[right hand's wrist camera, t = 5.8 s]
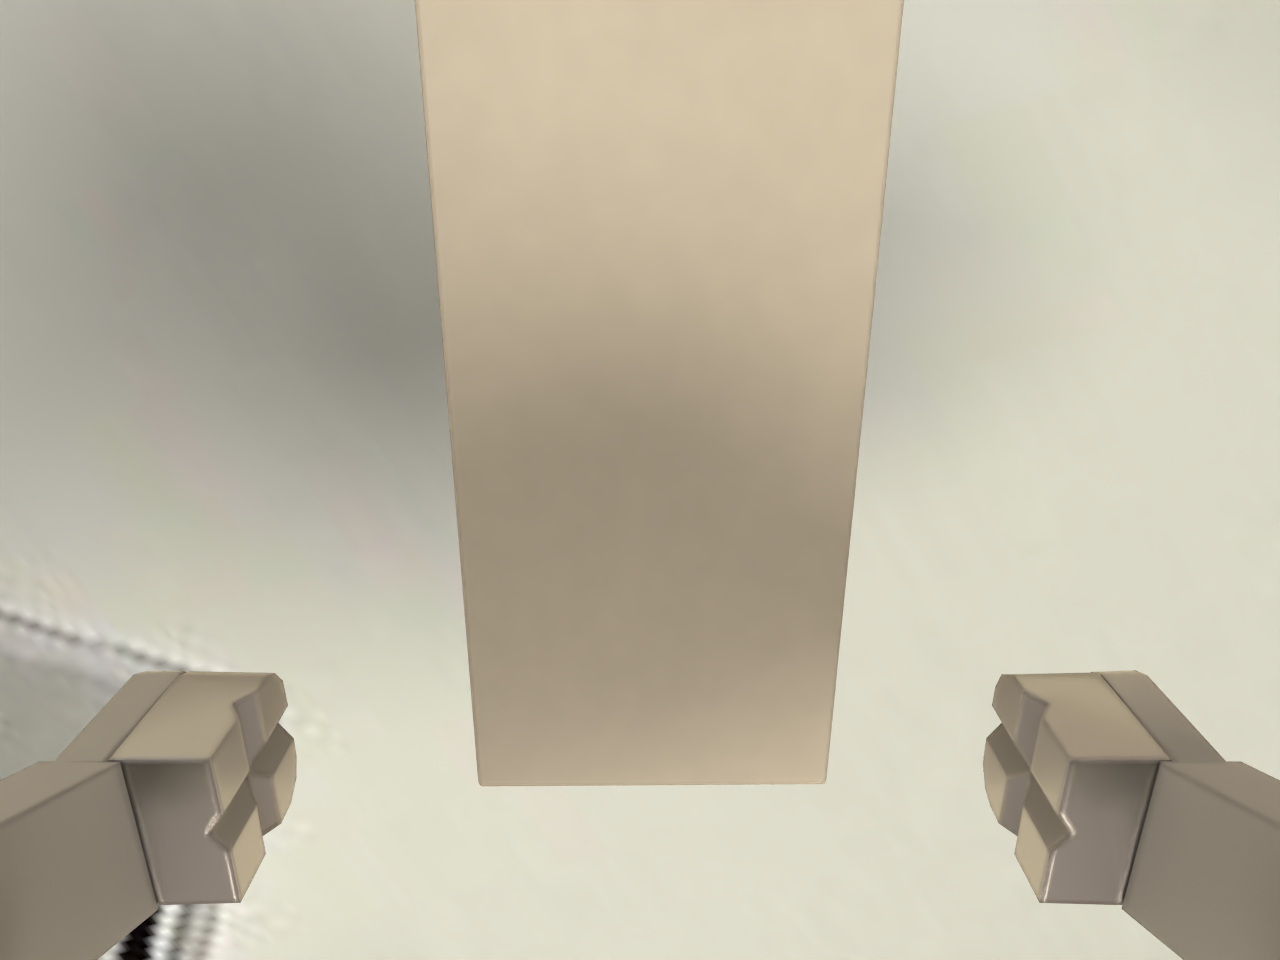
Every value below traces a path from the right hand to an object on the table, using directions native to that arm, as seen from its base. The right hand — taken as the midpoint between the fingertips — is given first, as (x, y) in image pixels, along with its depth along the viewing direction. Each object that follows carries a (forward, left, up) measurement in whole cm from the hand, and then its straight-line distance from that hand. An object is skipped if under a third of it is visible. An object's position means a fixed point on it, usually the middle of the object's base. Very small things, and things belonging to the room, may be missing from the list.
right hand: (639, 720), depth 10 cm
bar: (+3, +10, -12) cm, 16 cm away
